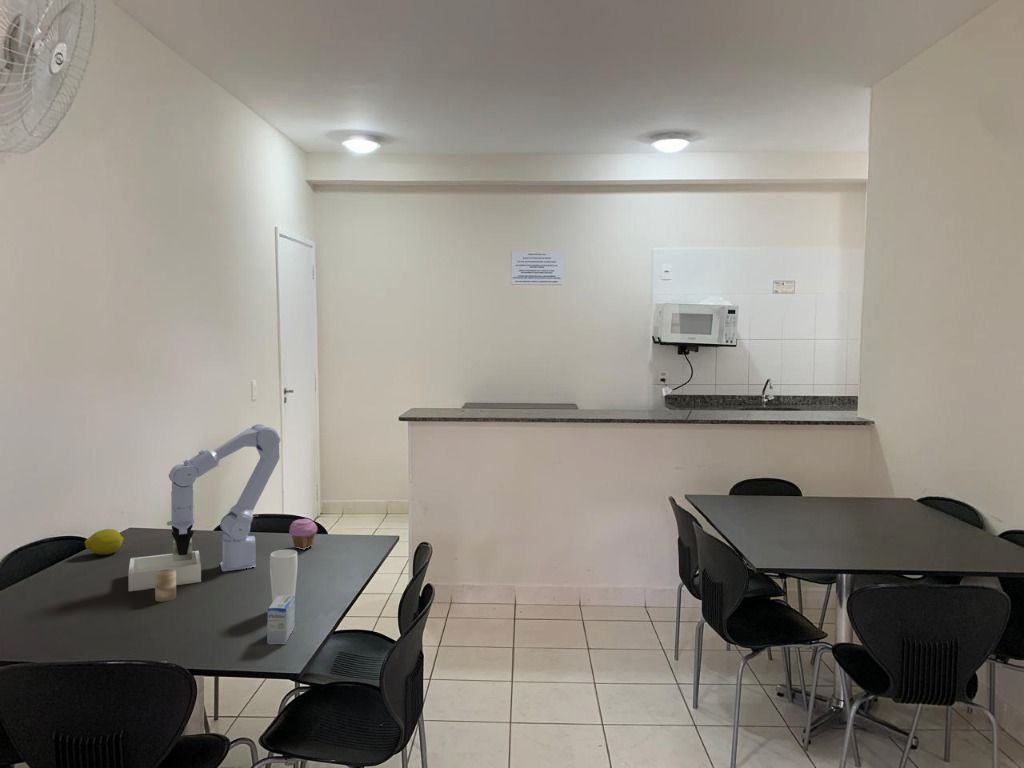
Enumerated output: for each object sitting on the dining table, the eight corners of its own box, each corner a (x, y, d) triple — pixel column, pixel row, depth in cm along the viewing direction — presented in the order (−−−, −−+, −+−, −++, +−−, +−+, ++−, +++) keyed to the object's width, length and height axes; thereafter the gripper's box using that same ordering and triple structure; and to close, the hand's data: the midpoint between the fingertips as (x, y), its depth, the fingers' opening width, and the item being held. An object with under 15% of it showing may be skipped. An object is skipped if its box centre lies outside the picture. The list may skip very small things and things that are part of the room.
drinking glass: (271, 617, 167) (271, 558, 166) (268, 607, 173) (268, 551, 172) (299, 612, 170) (299, 555, 169) (294, 603, 176) (295, 547, 175)
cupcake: (305, 553, 217) (305, 523, 216) (283, 550, 220) (283, 520, 219) (322, 546, 225) (322, 517, 224) (301, 543, 228) (301, 514, 228)
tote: (198, 566, 202) (198, 550, 202) (201, 581, 190) (200, 564, 190) (130, 575, 194) (130, 558, 193) (128, 591, 181) (128, 573, 181)
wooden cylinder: (176, 593, 181) (175, 568, 181) (176, 599, 177) (176, 574, 176) (155, 596, 179) (155, 570, 178) (155, 602, 174) (154, 576, 174)
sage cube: (191, 554, 197) (191, 537, 197) (192, 559, 192) (191, 542, 192) (172, 556, 195) (172, 539, 194) (172, 561, 190) (172, 544, 190)
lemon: (122, 548, 218) (122, 524, 217) (126, 554, 211) (126, 530, 211) (83, 554, 211) (83, 529, 210) (86, 561, 205) (85, 535, 204)
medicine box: (276, 630, 160) (276, 595, 159) (295, 630, 160) (295, 595, 160) (266, 645, 152) (267, 608, 152) (286, 644, 153) (287, 608, 152)
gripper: (166, 501, 197) (166, 546, 198) (167, 513, 184) (167, 561, 185) (193, 499, 200) (193, 543, 201) (195, 511, 188) (195, 558, 188)
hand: (182, 552), depth 193 cm, fingers closed on sage cube, 5 cm apart
